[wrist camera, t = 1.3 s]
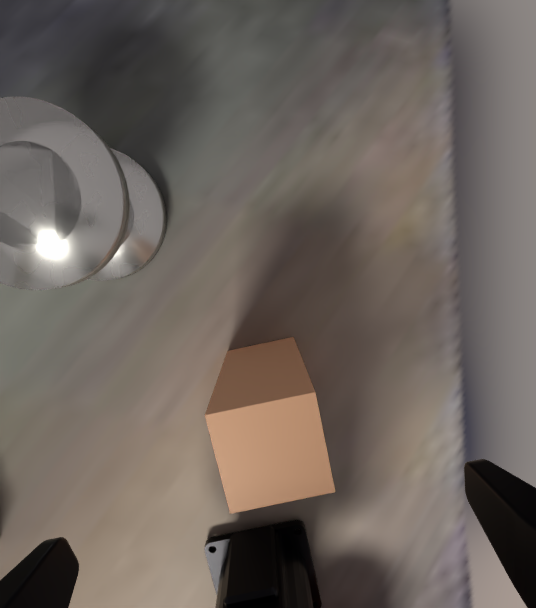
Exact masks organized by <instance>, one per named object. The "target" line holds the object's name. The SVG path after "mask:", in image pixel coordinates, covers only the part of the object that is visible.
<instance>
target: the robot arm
mask: <svg viewBox="0 0 536 608" xmlns="http://www.w3.org/2000/svg"><path fill="white" fill-rule="evenodd" d="M464 474H465V492H466V496H467V499H468V502H469V504H470V506H471V507H472V509H473V511H474V513H475V515H476V516H477V519H478V521H479V522H480V524H481V526H482V528H483V530H484V532H485V534H486V535H487V537H488V539H489V541H490V543H491V545H492V546H493V548H494V550H495V552H496V554H497V556H498V558H499V560H500V561H501V563H502V565H503V567H504V569H505V571H506V573H507V574H508V576H509V578H510V580H511V581H512V583H513V585H514V587H515V588H516V590H517V592H518V593H519V595H520V596H521V598H522V600H523V601H524V603H525V604H526V606H527V607H528V608H536V488H535V487H533V486H532V485H530V484H528V483H526V482H525V481H523V480H521V479H519V478H518V477H516V476H514V475H512V474H511V473H509V472H507V471H506V470H504V469H502V468H500V467H499V466H497V465H495V464H493V463H492V462H490V461H487V460H485V459H480V460H474V461H469V462H466V463H465V465H464ZM297 528H299V530H295V529H297ZM210 546H214V548H213V547H210ZM205 554H206V558H207V561H208V565H209V569H210V572H211V576H212V579H213V583H214V587H215V590H216V594H217V600H216V608H321V598H320V593H319V588H318V584H317V579H316V575H315V570H314V566H313V561H312V557H311V552H310V548H309V543H308V538H307V534H306V529H305V525H304V523H303V522H302V521H300V520H293V521H288V522H283V523H278V524H274V525H269V526H264V527H259V528H254V529H250V530H245V531H240V532H235V533H230V534H225V535H221V536H216V537H211V538H209V539H208V540H207V541H206V544H205ZM78 571H79V563H78V560H77V558H76V556H75V554H74V552H73V551H72V549H71V547H70V545H69V543H68V541H67V540H66V539H65V538H63V537H59V538H54V539H49V540H46V541H44V542H42V543H41V544H40V545H39V546H37V547H36V548H35V549H34V550H33V551H32V552H31V553H30V554H29V555H28V556H27V557H25V558H24V559H23V560H22V561H21V562H20V563H19V564H18V565H17V566H16V567H15V568H13V569H12V570H11V571H10V572H9V573H8V574H7V575H6V576H5V577H4V578H3V579H1V580H0V608H68V607H69V603H70V600H71V597H72V593H73V590H74V586H75V583H76V580H77V576H78ZM313 601H314V602H313Z"/></svg>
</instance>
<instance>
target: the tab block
mask: <svg viewBox="0 0 536 608" xmlns="http://www.w3.org/2000/svg"><path fill="white" fill-rule="evenodd" d="M205 418H206V422H207V425H208V429H209V433H210V437H211V441H212V445H213V449H214V453H215V457H216V460H217V464H218V468H219V472H220V476H221V480H222V484H223V488H224V492H225V496H226V499H227V503H228V507H229V511H230V514H232V513H237V512H241V511H246V510H251V509H256V508H261V507H266V506H270V505H275V504H280V503H285V502H290V501H295V500H299V499H304V498H309V497H314V496H319V495H324V494H328V493H333V492H335V487H334V482H333V477H332V472H331V467H330V463H329V458H328V453H327V448H326V443H325V438H324V433H323V428H322V423H321V418H320V413H319V408H318V403H317V398H316V393H315V390H314V387H313V385H312V382H311V380H310V377H309V375H308V372H307V370H306V367H305V365H304V362H303V360H302V357H301V355H300V352H299V350H298V347H297V345H296V342H295V340H294V337H290V338H286V339H281V340H276V341H272V342H267V343H262V344H257V345H253V346H248V347H243V348H238V349H234V350H229V351H227V354H226V357H225V360H224V363H223V365H222V368H221V371H220V374H219V377H218V380H217V382H216V385H215V388H214V391H213V394H212V397H211V399H210V402H209V405H208V408H207V411H206V414H205Z"/></svg>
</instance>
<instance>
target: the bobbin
mask: <svg viewBox="0 0 536 608" xmlns="http://www.w3.org/2000/svg"><path fill="white" fill-rule="evenodd" d="M166 223H167V216H166V208H165V203H164V200H163V196H162V194H161V192H160V189H159V187H158V186H157V184H156V182H155V181H154V179H153V178H152V177H151V176H150V174H149V173H148V172H147V171H146V170H145V169H144V168H143V167H142V166H141V165H139V164H138V163H137V162H135V161H134V160H133V159H131V158H130V157H128V156H127V155H125V154H123V153H121V152H119V151H117V150H114V149H112V148H110V147H109V146H108V145H107V143H106V142H105V141H104V140H103V139H102V138H101V137H100V136H99V135H98V134H97V133H96V132H95V131H94V130H93V129H92V128H90V127H89V126H88V125H86V124H85V123H84V122H82V121H81V120H80V119H78V118H77V117H76V116H74V115H73V114H71V113H70V112H68V111H66V110H65V109H63V108H61V107H59V106H57V105H54V104H52V103H49V102H46V101H43V100H39V99H35V98H28V97H4V98H0V283H2V284H5V285H7V286H11V287H15V288H19V289H28V290H46V289H53V288H59V287H66V286H70V285H74V284H77V283H80V282H82V281H84V280H86V279H90V280H111V279H118V278H123V277H126V276H129V275H131V274H134V273H136V272H137V271H139V270H141V269H142V268H143V267H145V266H146V265H147V264H148V263H149V262H150V261H151V260H152V259H153V258H154V256H155V255H156V254H157V252H158V250H159V248H160V247H161V245H162V242H163V239H164V236H165V231H166Z"/></svg>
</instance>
